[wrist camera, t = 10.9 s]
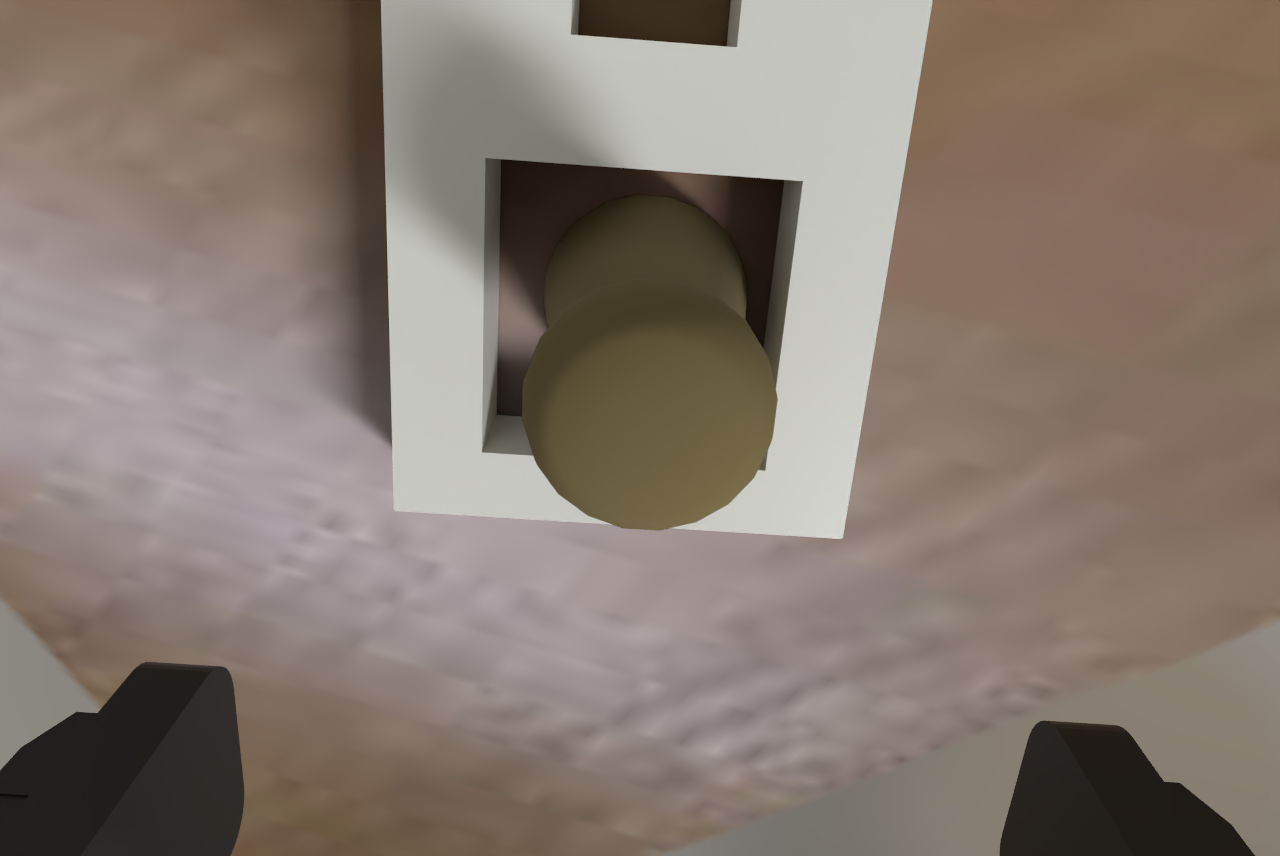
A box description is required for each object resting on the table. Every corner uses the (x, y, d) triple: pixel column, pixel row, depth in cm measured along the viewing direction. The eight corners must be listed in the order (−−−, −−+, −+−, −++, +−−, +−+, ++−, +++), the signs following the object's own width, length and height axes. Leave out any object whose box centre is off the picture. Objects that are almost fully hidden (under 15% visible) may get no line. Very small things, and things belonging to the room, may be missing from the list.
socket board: (939, -246, 23) (980, -288, 20) (823, 494, 30) (842, 538, 28) (404, -292, 23) (372, -340, 20) (416, 468, 30) (393, 510, 27)
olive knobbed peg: (501, 288, 28) (421, 423, 18) (656, 148, 27) (667, 206, 16) (636, 432, 30) (635, 630, 19) (789, 307, 28) (875, 451, 18)
